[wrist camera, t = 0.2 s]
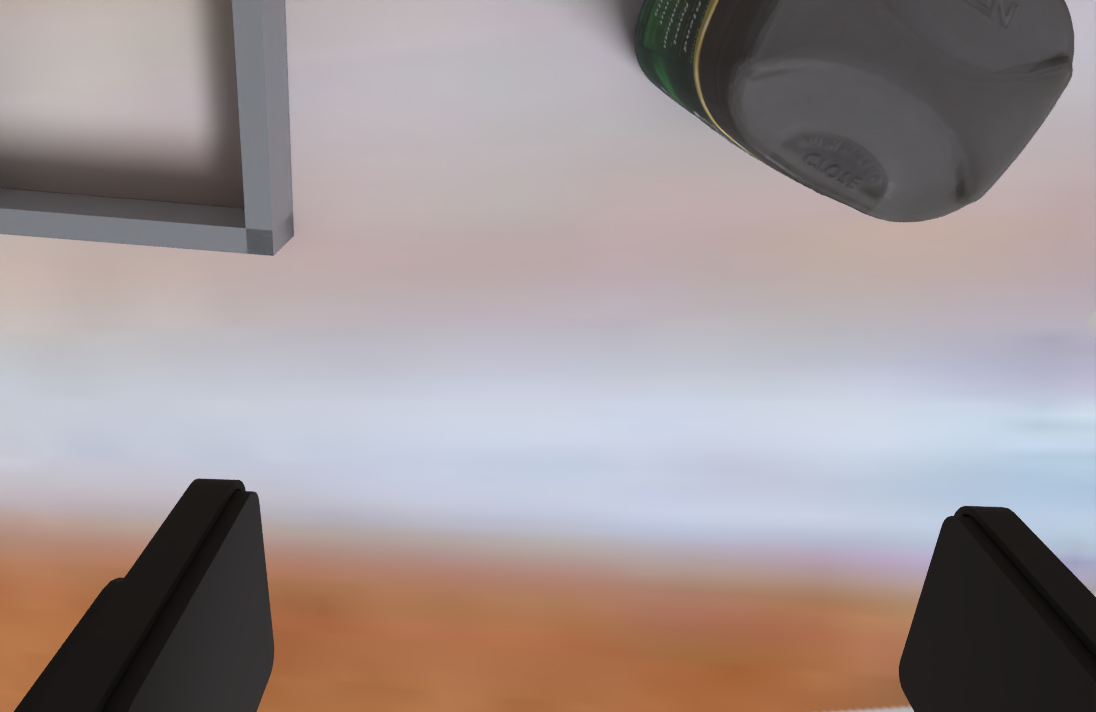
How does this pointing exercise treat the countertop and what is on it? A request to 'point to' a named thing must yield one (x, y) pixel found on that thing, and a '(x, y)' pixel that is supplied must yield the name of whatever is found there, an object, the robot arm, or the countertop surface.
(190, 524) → the robot arm
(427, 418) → the countertop surface
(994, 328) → the countertop surface
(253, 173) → the tray
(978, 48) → the coffee jar
